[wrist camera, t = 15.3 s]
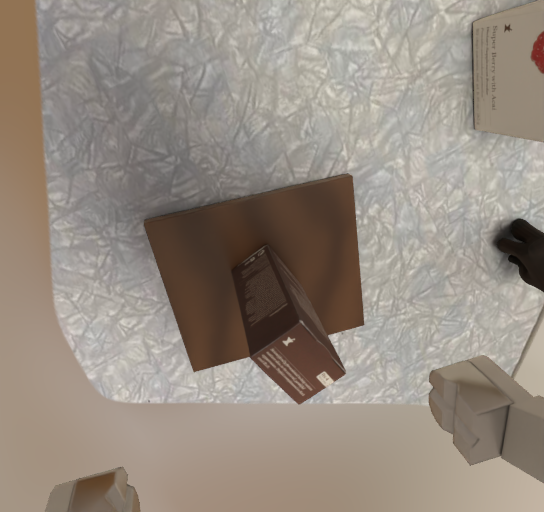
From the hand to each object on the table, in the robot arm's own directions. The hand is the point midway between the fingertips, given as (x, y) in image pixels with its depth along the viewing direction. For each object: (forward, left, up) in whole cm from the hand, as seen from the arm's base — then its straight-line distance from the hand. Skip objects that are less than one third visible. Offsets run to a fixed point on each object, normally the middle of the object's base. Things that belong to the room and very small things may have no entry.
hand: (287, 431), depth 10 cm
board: (+3, -9, -25) cm, 27 cm away
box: (+3, -9, -24) cm, 26 cm away
